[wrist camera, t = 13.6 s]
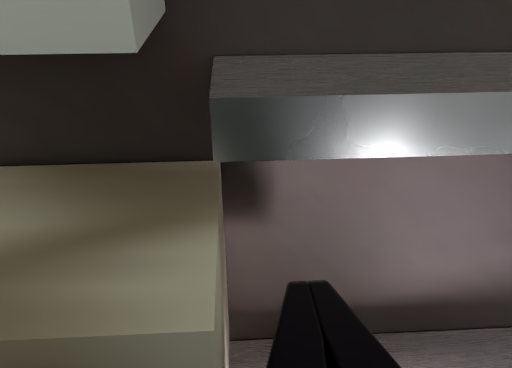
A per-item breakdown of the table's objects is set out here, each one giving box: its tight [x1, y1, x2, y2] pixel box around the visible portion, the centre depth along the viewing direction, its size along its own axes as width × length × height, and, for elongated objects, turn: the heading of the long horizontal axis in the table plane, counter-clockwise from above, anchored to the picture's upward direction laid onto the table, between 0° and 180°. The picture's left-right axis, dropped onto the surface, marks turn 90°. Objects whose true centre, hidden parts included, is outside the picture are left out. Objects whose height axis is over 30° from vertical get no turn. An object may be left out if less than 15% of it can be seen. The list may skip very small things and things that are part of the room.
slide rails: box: [209, 52, 512, 368], centre depth 9 cm, size 18×9×2 cm, turn 90°
